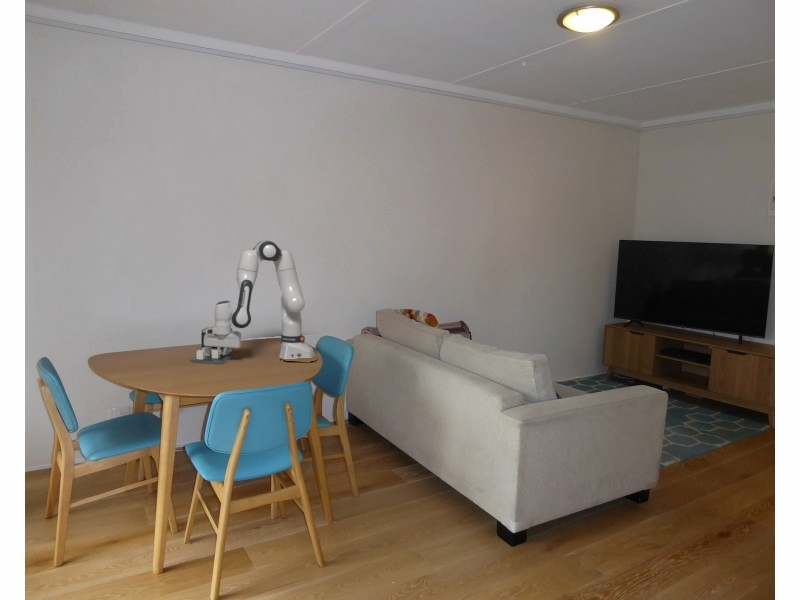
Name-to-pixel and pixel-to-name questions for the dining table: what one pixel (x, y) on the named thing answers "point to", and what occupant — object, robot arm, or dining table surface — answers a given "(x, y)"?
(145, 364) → the dining table surface
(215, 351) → the block
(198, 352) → the breaker
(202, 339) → the tea box
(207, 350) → the block
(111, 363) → the dining table surface
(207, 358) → the panel
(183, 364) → the dining table surface
